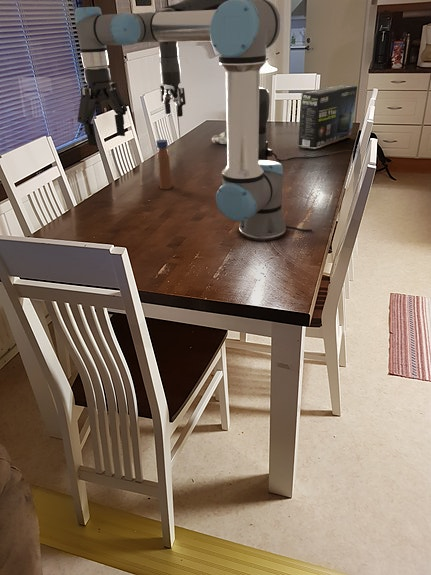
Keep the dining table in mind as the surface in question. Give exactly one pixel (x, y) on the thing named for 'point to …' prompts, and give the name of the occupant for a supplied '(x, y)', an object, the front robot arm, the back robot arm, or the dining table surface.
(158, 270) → the dining table surface
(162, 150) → the bottle
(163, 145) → the cap
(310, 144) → the router box
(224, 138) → the fossil
